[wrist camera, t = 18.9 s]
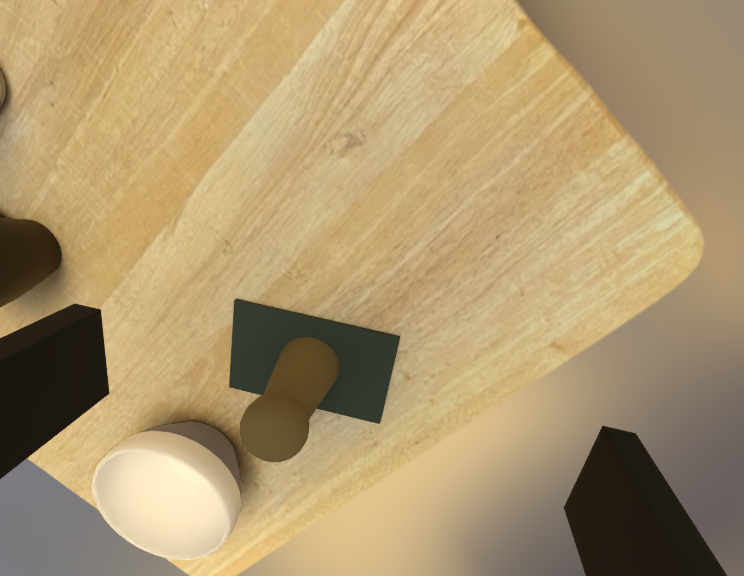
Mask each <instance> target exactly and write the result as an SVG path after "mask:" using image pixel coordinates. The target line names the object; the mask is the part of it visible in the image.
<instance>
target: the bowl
mask: <svg viewBox="0 0 744 576" xmlns="http://www.w3.org/2000/svg"><path fill="white" fill-rule="evenodd" d="M92 490H93V496H94V499H95V502H96V505H97V507H98V509H99V511H100V513H101V515H102V516H103V517H104V519H105V520H106V521H107V523H108V524H109V525H110V526H111V527H112V528H113V529H114V530H115V531H116V532H117V533H118V534H119V535H120V536H122V537H123V538H124V539H126V540H127V541H128V542H130V543H132V544H133V545H135V546H137V547H138V548H140V549H142V550H144V551H147V552H149V553H151V554H154V555H157V556H161V557H164V558H169V559H176V560H192V559H198V558H203V557H205V556H208V555H210V554H213V553H214V552H215V551H217V550H218V549H220V548H221V546H222V545H223V544H224V543H225V541H226V540H227V539H228V537H229V536H230V534H231V532H232V530H233V528H234V526H235V523H236V521H237V518H238V516H239V513H240V508H241V485H240V471H239V467H238V464H237V458H236V453H235V450H234V448H233V446H232V444H231V443H230V441H229V440H228V439H227V438H226V437H225V436H224V435H223V434H222V433H221V432H219V431H218V430H216V429H215V428H213V427H211V426H209V425H206V424H203V423H200V422H192V421H189V422H182V423H178V424H165V425H162V426H158V427H156V428H151V429H147V430H144V431H141V432H139V433H136V434H133V435H131V436H129V437H127V438H125V439H124V440H122V441H121V442H120V443H118V444H117V445H116V446H115V447H113V448H112V449H111V450H110V451H109V452H108V453H107V454H106V455H105V456H104V458H103V459H102V460H101V461H100V463H99V464H98V465H97V467H96V469H95V471H94V474H93V479H92Z"/></svg>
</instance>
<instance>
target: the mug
mask: <svg viewBox="0 0 744 576" xmlns="http://www.w3.org/2000/svg"><path fill="white" fill-rule="evenodd" d="M60 260H61V251H60V247H59V245H58V242H57V240H56V239H55V237H54V236H53V234H52V233H51V232H50V231H49V230H48V229H47V228H46V227H44V226H43V225H41V224H39V223H38V222H35V221H32V220H24V219H22V220H19V219H9V218H6V217H5V216H4V215H3V214H1V213H0V307H2V306H4V305H6V304H8V303H10V302H12V301H13V300H15V299H17V298H18V297H20V296H22V295H23V294H25V293H26V292H28V291H29V290H31V289H32V288H33V287H35V286H36V285H37V284H38V283H40V282H41V281H42V280H43V279H44V278H46V277H47V276H48V275H49V274H51V273H53V272H54V271H55V270H56V269H57V268H58V266H59V264H60Z"/></svg>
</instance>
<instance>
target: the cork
mask: <svg viewBox="0 0 744 576" xmlns="http://www.w3.org/2000/svg"><path fill="white" fill-rule="evenodd" d="M339 368H340V367H339V361H338V358H337V356H336V354H335V352H334V351H333V350H332V349H331V348H330V347H329V346H328V345H327V344H326V343H324V342H322V341H320V340H319V339H315V338H311V337H299V338H296V339H294V340H291V341H290V342H288V343H287V344H286V345H285V346H284V348H283V349H282V351H281V353H280V356H279V358H278V360H277V363H276V365H275V368H274V370H273V372H272V375H271V377H270V379H269V382H268V384H267V387H266V389H265V391H264V394H263V396H260V397H259V398H257V399H256V400H255V401H254V402H253V403H251V404H250V405H249V406H248V408H247V409H246V411H245V413H244V415H243V417H242V419H241V423H240V434H241V438H242V442H243V444H244V445H245V447H246V448H247V450H248V451H249V452H251V453H252V454H253V455H254V456H256V457H258V458H259V459H261V460H264V461H268V462H282V461H285V460H288V459H290V458H292V457H293V456H295V455H296V454H297V453H298V452H299V451H300V450H301V449H302V447H303V446H304V444H305V442H306V440H307V438H308V433H309V419H310V417H311V416H312V414H313V413H314V411H315V410H316V408H317V407H318V405H319V404H320V402H321V401H322V399H323V398H324V396H325V395H326V394H327V392H328V391H329V389H330V388H331V386H332V385H333V383H334V382H335V380H336V378H337V377H338V374H339Z"/></svg>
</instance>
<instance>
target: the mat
mask: <svg viewBox="0 0 744 576" xmlns="http://www.w3.org/2000/svg"><path fill="white" fill-rule="evenodd" d="M299 337H311V338H315V339H319V340H320V341H322V342H324V343H326V344H327V345H328V346H329V347H330V348H331V349H332V350H333V351H334V352H335V354H336V356H337V358H338V361H339V367H340V368H339V374H338V377H337V378H336V380H335V382H334V383H333V385H332V386H331V388H330V389H329V391H328V392H327V394H326V395H325V396H324V398H323V399H322V401H321V402H320V404H319V405H318V407H317V409H321V410H325V411H329V412H333V413H337V414H341V415H345V416H349V417H353V418H357V419H361V420H366V421H370V422H374V423H378V424H380V421H381V417H382V412H383V408H384V404H385V399H386V395H387V391H388V387H389V382H390V378H391V374H392V369H393V365H394V361H395V357H396V352H397V348H398V344H399V339H400V336H396V335H392V334H387V333H383V332H379V331H374V330H370V329H365V328H361V327H357V326H352V325H348V324H344V323H339V322H335V321H331V320H326V319H322V318H317V317H313V316H309V315H304V314H300V313H296V312H291V311H287V310H282V309H278V308H274V307H269V306H265V305H261V304H256V303H252V302H248V301H243V300H239V299H235V300H234V315H233V332H232V349H231V366H230V383H229V387H231V388H235V389H239V390H243V391H247V392H251V393H255V394H259V395H263V394H264V391H265V389H266V387H267V384H268V382H269V379H270V377H271V375H272V372H273V370H274V368H275V365H276V363H277V360H278V358H279V356H280V353H281V351H282V349H283V348H284V346H285V345H286V344H287V343H288V342H290V341H291V340H294V339H296V338H299Z"/></svg>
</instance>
